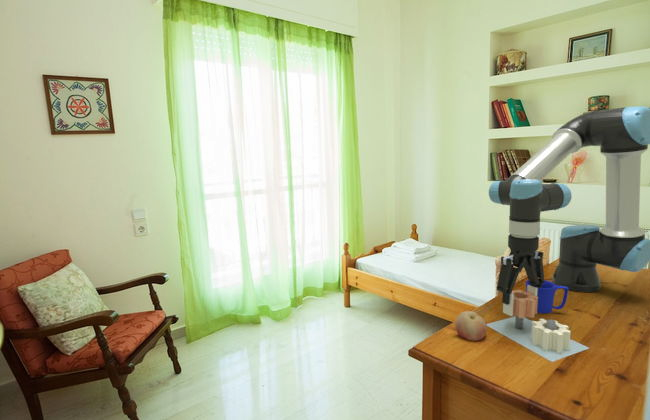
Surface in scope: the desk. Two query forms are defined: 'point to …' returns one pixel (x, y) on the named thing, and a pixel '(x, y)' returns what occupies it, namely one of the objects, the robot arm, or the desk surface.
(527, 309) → the loose gear
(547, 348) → the gear
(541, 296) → the mug
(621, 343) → the desk surface
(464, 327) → the fruit
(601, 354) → the desk surface
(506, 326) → the gear board
